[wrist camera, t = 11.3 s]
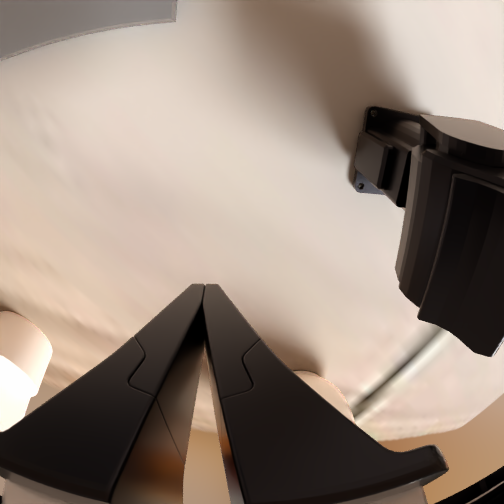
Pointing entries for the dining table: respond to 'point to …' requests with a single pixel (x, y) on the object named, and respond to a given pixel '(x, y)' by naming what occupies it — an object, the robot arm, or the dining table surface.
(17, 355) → the cream cylindrical piece
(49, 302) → the dining table surface
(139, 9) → the slate board
